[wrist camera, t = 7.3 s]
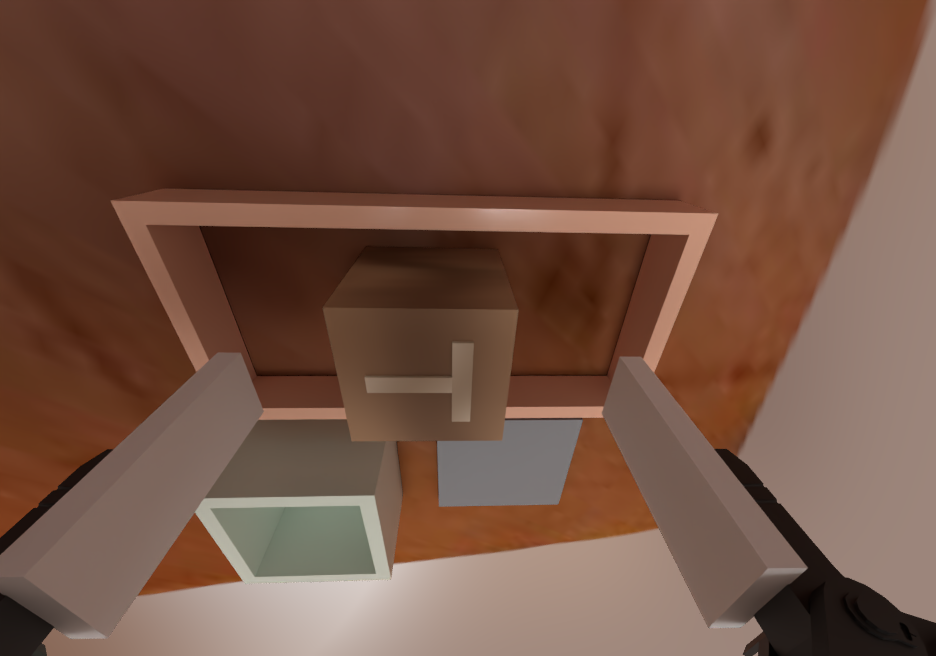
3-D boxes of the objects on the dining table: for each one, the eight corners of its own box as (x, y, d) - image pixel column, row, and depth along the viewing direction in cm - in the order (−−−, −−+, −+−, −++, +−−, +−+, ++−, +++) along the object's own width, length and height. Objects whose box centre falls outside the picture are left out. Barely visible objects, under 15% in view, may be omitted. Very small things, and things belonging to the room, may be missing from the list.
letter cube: (380, 354, 18) (351, 445, 13) (366, 245, 15) (321, 309, 10) (489, 355, 19) (502, 444, 14) (497, 248, 16) (519, 311, 10)
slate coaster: (439, 498, 25) (439, 506, 25) (437, 413, 21) (436, 420, 20) (556, 496, 26) (558, 504, 25) (579, 412, 21) (582, 419, 21)
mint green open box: (284, 495, 25) (244, 583, 20) (247, 411, 20) (185, 498, 15) (402, 493, 25) (391, 579, 20) (392, 410, 20) (374, 495, 16)
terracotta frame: (246, 387, 19) (220, 419, 17) (164, 188, 14) (110, 200, 11) (616, 386, 20) (635, 417, 18) (679, 200, 15) (718, 213, 12)
